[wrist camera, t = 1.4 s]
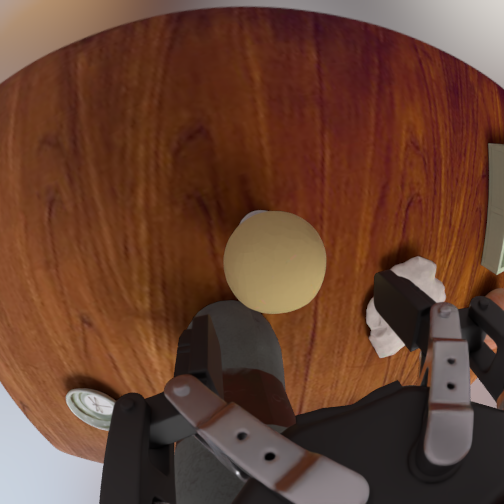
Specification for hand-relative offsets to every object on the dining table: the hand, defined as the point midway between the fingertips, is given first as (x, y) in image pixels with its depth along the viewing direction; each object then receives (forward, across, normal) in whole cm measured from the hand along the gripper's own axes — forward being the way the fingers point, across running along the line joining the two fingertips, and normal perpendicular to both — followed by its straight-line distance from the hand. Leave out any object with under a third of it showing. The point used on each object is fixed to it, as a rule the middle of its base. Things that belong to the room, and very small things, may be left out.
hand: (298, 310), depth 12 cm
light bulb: (+12, 0, 0) cm, 13 cm away
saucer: (+13, +26, +19) cm, 35 cm away
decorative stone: (+12, -15, +13) cm, 23 cm away
